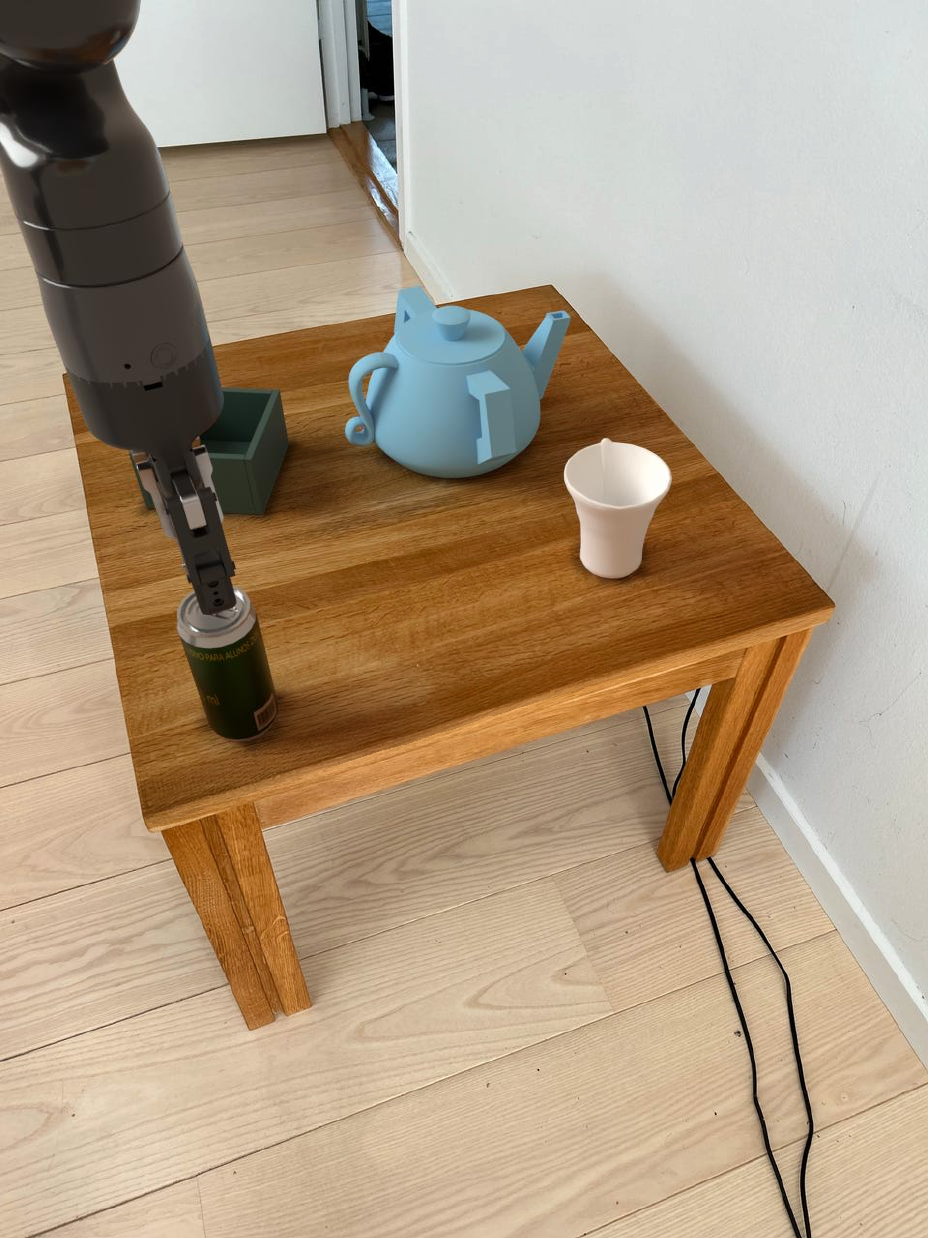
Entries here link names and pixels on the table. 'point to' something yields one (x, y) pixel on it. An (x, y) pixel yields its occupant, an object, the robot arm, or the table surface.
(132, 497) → the table surface
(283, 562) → the table surface
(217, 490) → the open box
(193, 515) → the robot arm
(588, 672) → the table surface
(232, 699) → the beer can
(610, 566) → the cup
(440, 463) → the teapot
